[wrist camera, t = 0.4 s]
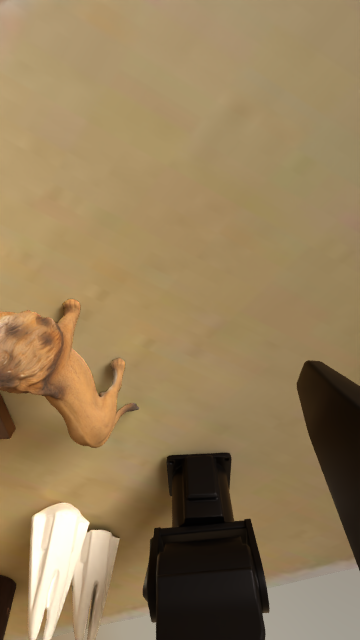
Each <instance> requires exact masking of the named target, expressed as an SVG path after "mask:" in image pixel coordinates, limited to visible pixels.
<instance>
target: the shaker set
mask: <svg viewBox="0 0 360 640" xmlns="http://www.w3.org/2000/svg"><path fill="white" fill-rule="evenodd" d="M89 524H90V522H89V521H87V520H86V519H85V518H84V517H83V516H82V515H81V513H80V511H79V510H78V509H77V508H75V507H74V506H73V505H71V504H69V503H58V504H55V505H52V506H49V507H47V508H45V509H44V510H42V511H40V512H38V513H36V514H34V515H33V516H32V520H31V537H30V559H29V592H28V634H29V640H36V638H37V636H38V633H39V630H40V627H41V623H42V620H43V616H44V611H45V609H46V608H47V619H46V624H45V629H44V634H43V639H42V640H51V638H52V635H53V633H54V630H55V628H56V625H57V622H58V619H59V616H60V614H61V611H62V608H63V605H64V602H65V599H66V596H67V593H68V590H69V587H70V584H71V581H72V601H73V627H74V634H75V640H83V638H84V634H85V630H86V625H87V620H88V614H89V608H90V602H91V609H90V618H89V627H88V637H87V640H95V639H96V636H97V632H98V628H99V625H100V621H101V617H102V613H103V609H104V605H105V601H106V597H107V593H108V589H109V585H110V581H111V576H112V572H113V567H114V563H115V558H116V554H117V549H118V544H119V539H120V538H116V537H114V536H112V533H111V532H108V531H105V530H90V532H87V529H88V526H89Z"/></svg>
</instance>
